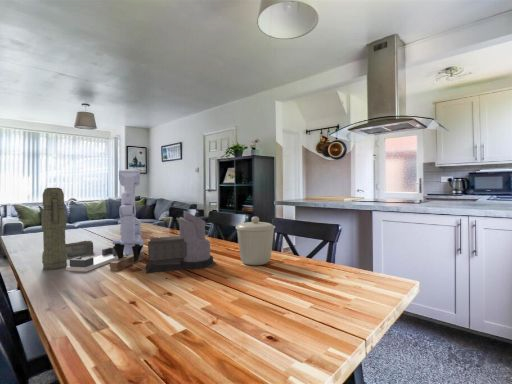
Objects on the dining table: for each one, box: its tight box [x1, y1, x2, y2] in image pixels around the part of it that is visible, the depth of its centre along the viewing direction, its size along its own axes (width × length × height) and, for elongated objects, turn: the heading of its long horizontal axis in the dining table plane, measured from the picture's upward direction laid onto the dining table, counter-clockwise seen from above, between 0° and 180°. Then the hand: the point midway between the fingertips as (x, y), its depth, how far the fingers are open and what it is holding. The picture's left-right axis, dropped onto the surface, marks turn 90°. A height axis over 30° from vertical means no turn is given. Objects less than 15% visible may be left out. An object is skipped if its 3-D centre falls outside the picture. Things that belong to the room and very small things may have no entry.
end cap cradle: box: [65, 246, 126, 272], centre depth 130 cm, size 25×10×4 cm, turn 169°
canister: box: [235, 216, 276, 266], centre depth 128 cm, size 18×18×21 cm
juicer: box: [145, 210, 217, 275], centre depth 124 cm, size 30×16×24 cm, turn 112°
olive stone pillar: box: [40, 187, 68, 271], centre depth 124 cm, size 9×12×35 cm
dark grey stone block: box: [65, 240, 94, 258], centre depth 146 cm, size 8×19×7 cm, turn 130°
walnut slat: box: [109, 251, 146, 271], centre depth 129 cm, size 20×3×4 cm, turn 169°
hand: (128, 260), depth 129 cm, fingers open, 7 cm apart
